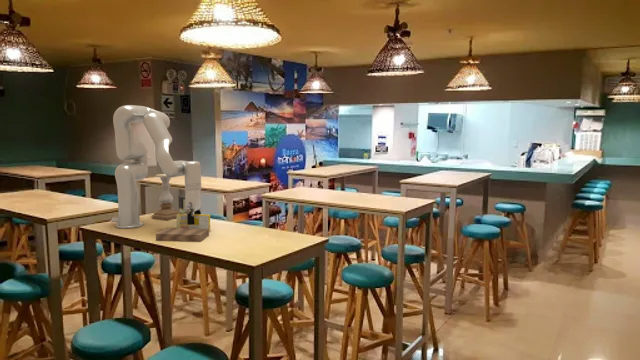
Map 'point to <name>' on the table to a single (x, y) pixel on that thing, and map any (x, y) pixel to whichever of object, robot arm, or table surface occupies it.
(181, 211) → the coffee can
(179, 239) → the walnut plinth
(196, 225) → the candy box
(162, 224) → the table surface
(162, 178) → the candle holder
